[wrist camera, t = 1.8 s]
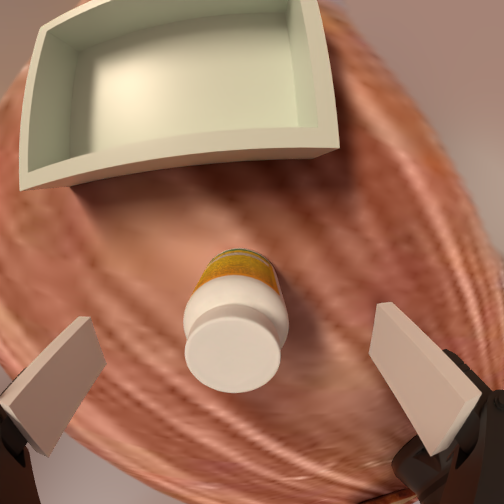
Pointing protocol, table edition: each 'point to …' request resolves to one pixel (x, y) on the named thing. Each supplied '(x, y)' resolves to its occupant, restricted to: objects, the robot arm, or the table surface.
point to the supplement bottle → (236, 322)
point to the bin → (174, 88)
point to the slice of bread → (393, 498)
